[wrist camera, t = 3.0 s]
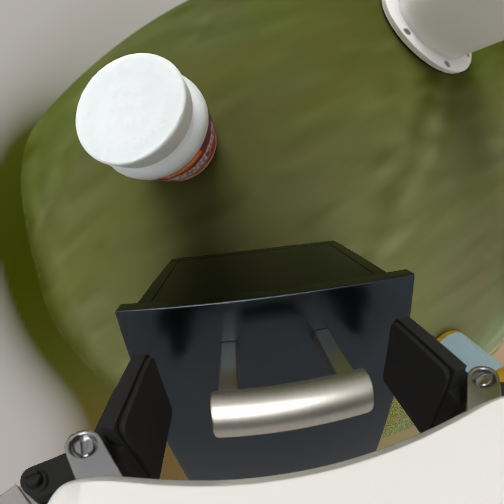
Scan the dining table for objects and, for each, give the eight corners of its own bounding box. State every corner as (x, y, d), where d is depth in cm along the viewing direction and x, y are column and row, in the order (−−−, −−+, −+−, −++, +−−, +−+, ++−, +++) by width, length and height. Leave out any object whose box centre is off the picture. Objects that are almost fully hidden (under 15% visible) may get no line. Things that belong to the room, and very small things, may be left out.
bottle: (415, 381, 28) (476, 459, 13) (425, 336, 26) (505, 414, 12) (453, 364, 28) (516, 427, 14) (464, 321, 26) (542, 380, 12)
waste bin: (171, 259, 22) (125, 318, 12) (334, 240, 23) (404, 283, 12) (204, 401, 26) (196, 484, 16) (331, 384, 27) (366, 459, 16)
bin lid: (120, 303, 12) (61, 375, 6) (406, 268, 12) (484, 314, 7) (196, 485, 16) (193, 541, 10) (366, 460, 16) (389, 510, 11)
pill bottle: (195, 194, 21) (155, 204, 10) (129, 163, 20) (46, 152, 9) (231, 124, 20) (228, 67, 9) (163, 96, 19) (109, 32, 8)
